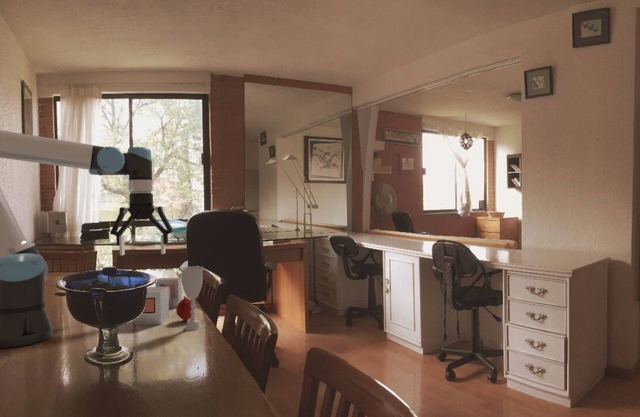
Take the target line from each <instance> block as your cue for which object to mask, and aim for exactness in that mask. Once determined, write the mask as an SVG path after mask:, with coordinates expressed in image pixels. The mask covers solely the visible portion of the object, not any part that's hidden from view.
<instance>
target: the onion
mask: <svg viewBox="0 0 640 417" xmlns="http://www.w3.org/2000/svg"><path fill="white" fill-rule="evenodd" d="M190 305H191V299H189V298H188V297H187V295H184V296H183V298H182V300H181V301H180V302H179V303H178V305H177V308H175V312H176V315H177V316H178V317H179V318H180V319H181V320H183V321H184V322H187V321H188V320H190V319H191V316H192V315H191V313H190V311H191V306H190ZM194 309H195V310H196V307H195V308H194Z"/></svg>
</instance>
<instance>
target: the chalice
mask: <svg viewBox="0 0 640 417" xmlns="http://www.w3.org/2000/svg"><path fill="white" fill-rule="evenodd" d="M204 268H205V267H204V266H201V265H200V266H197V265H196V266H195V265H193V266H185V267H181V268H179V270H180V272H181V287H182V289H183V291H184V293H185V296H186V297H187V298H188V299H190V300H191V305H190V306H191V311H190V313H191V315H192V316H191V318H190V319H189V320H187V321H186V324H185V326H184V330H185V331H198V330H200V329H202V328H203V326H202V325H201V323H200V320H199V319H197V317H196V316H195V315H196V304H195V299H197V298H198V297H199V294H200V292H201V290H202V287H203V271H204ZM194 308H195V309H194Z"/></svg>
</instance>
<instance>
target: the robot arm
mask: <svg viewBox="0 0 640 417" xmlns="http://www.w3.org/2000/svg"><path fill="white" fill-rule="evenodd" d="M0 159H7V160H12V161H13V160H15V161H20V162H21V161H22V162H28V163H29V162H30V163H37V164H45V165H51V166H59V167H67V168H75V169H83V170H88V173H89V174H90V175H91V176H99V177H101V176H128V192H129V197H128V200H129V202H128V203H129V207H124V206H122V207H121V206H120V207H119V211H118V215H117V218H116V220H115V222H114V224H113V226H112V227H111V230H110V232H109V234H110V235H112V236H115V237H116V246H119V256H124V255H126V253H125V252H126V251H125V247H126V246H125V235H123V234H124V233H125V231H126V230H127V229H128V228H129V226H131V224H132V223H133V222H134V221H135V220H136V221H139V220H143V221H147V220H149V221H150V222H151V223H152V224H153V225H154V226H155V228H157V229H158V230H159V232H160V233H161V235H160V254H161V255H164V254H166V245H168V243H169V234H172V233H173V232H174V229H173V227H172V225H171V223H170V222H169V220H168V218H167V216H166V214H165V212H164V207H163V205H162V206H161V205H159V206H156V207H155V206H154V194H153V193H152V192H153V191H154V190H153V189H154V187H153V160H152V159H153V158H152V151H151V149H150V148H148V147H145V146H131V147H128V149H127V152H123V151H122V150H120V149H119V148H118V147H115V146H100V145H94V144H88V143H82V142H76V141H75V142H74V141H71V140H64V139H57V138H51V137H45V136H39V135H32V134H28V133H20V132H14V131H8V130H4V129H3V130H1V129H0ZM128 213H129V214H130V216H129V217H128V218H127V220H126V221H125V222H124V223H123V225H122V226H121V227H120V225H121V224H122V222H123V220H124V218H125V216H126V215H127V214H128ZM154 213H156V214H158V216H159V217H160V220H161V221H162V223H163V225H164V226H163V225H162V224H161V223H160V222H159V220H158V219H157V218H156V217H155V216H154ZM49 272H50V271H49V266H48V263H47V261H46V260H45V259H44V257H43V255H41V253H40V252H39V250H38V248H37V246H36V244H35V243H34V242H30V241H28V240H27V238H26V236H25V234H24V232H23V231H22V229H21V226H20V225H19V223H18V220H17V217H16V216H15V215H14V212H13V211H12V208H11V206H10V205H9V203H8V200H7V198H6V197H5V195H4V192H3V191H2V188H1V187H0V349H7V348H18V347H23V346H24V347H25V346H29V345H33V344H37V343H41V342H44V341H45V340H48V339H50V338H52V337H53V336H54V327H53V325H52V322H51V320H50V317H49V314H48V312H47V310H46V288H45V285H46V284H45V283H46V282H47V280H48V278H49Z"/></svg>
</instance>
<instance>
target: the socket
mask: <svg viewBox="0 0 640 417" xmlns="http://www.w3.org/2000/svg"><path fill="white" fill-rule="evenodd" d="M156 280H157V282H156V283H155V287H168V288H169V287H170V299H169V309H172V308H173V309H174V308H175V309H176V308H177V305H178V303H179V302H180V301H181V300H183V298H182V295H183V294H182V289H183V288H182V277H162V278H161V277H159V278H157V279H156Z"/></svg>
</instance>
